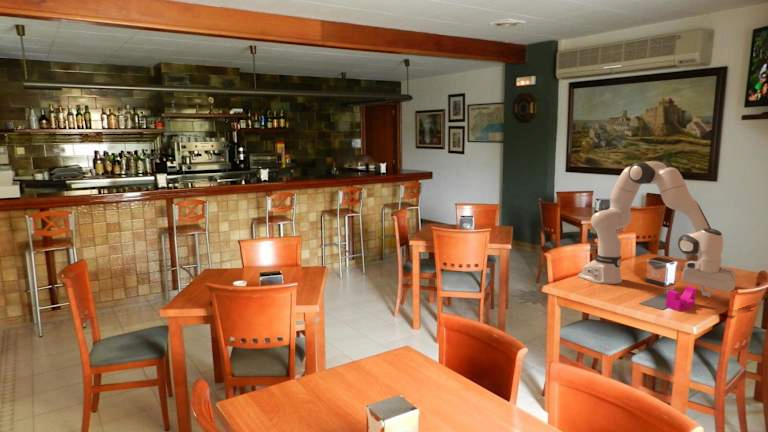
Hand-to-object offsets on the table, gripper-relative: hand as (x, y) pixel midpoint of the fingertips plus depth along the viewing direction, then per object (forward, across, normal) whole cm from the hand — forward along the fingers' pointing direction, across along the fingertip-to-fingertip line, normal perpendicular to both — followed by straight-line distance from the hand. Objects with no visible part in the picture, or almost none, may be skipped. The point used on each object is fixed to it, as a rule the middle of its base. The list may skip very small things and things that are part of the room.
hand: (706, 296), depth 223 cm
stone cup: (+7, +31, -67) cm, 74 cm away
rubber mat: (+7, +18, 0) cm, 19 cm away
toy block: (+7, +9, 0) cm, 12 cm away
